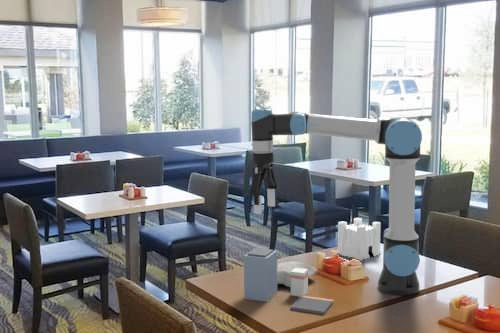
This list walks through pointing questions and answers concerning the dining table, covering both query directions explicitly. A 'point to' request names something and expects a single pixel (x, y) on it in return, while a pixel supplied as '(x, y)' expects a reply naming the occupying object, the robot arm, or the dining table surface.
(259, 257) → the box
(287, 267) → the rock
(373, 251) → the castle model
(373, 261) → the dining table surface
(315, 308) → the mat
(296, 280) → the cartridge
